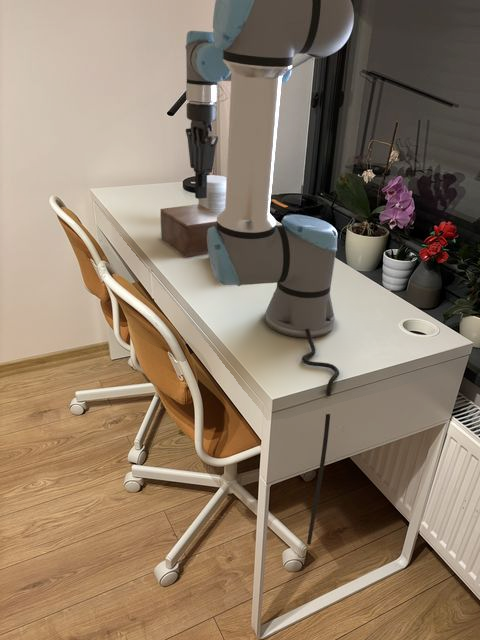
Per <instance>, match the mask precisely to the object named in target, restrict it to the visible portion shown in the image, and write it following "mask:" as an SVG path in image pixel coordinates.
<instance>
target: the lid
mask: <svg viewBox="0 0 480 640" xmlns="http://www.w3.org/2000/svg"><path fill="white" fill-rule="evenodd" d="M161 212H162V213H164V214H165V215H167V216H168V217H170V218H172V219H173V220H175V221H176V222H178V223H180V224H181V225H183V226H184V227H186V228H193V227H200V226H207V225H214V224H217V216H218V214H216V213H214V212H213V211H211V210H209V209H207V208H205V207H203V206H202V205H200V204H199V203H197V204H190V205H189V204H188V205H182V206H174V207H165V208H164V207H163V208H160V213H161Z"/></svg>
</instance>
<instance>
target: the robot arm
mask: <svg viewBox="0 0 480 640" xmlns="http://www.w3.org/2000/svg"><path fill="white" fill-rule="evenodd" d="M354 20H355V13H354V7H353V3H352V0H215V2H214V9H213V17H212V29H213V31H204V30H203V31H202V30H189V31H187V33H186V42H185V57H186V58H185V60H186V62H185V64H186V66H185V67H186V81H185V90H186V91H185V92H186V95H185V96H186V97H185V98H186V102H187V103H186V118H187V119H188V120H190V127H189V128H185V135H186V138H187V147H188V156H189V165H190V168H191V169H193V172H194V176H195V177H194V189H195V190H194V192H195V193H194V198H195V199H197V200H199V199H201V198H207V175H208V174H211V173H213V169H214V162H215V155H216V149H217V144H218V141H219V137H218V136H217V135H215V134H214V133H213V131H214V129H213V122H215V121H216V120H217V117H218V115H217V111H218V105H217V104H216V102H217V101H218V90H219V89H218V83H220V82H230V96H229V115H228V116H229V117H228V119H229V120H228V139H227V159H226V178H227V180H226V201H225V209H224V210H223V211H222V212H221V213H220V214H219V215H218V216H217V226H216V227H211V228H209V229H208V231H207V232H208V233H207V246H208V253H209V254H208V257H209V262H210V267H211V270H212V273H213V276H214V278H215V280H216V281H217V283H218V284H220V285H222V286H238V287H241V286H248V285H262V284H276V287H275V290H274V292H273V294H272V297H271V299H270V301H269V304H268V305H267V308H266V311H265V322H266V324H267V326H269V328H271V329H272V330H274V331H276V332H277V333H279V334H282V335H285V336H289V337H293V338H302V339H307V341H308V344H309V347H310V349H311V351H310V352H308V353H306V354H304V355H303V356H302V358H301V361H302V362H303V363H304V364H306V365H308V366H311V367H319V368H320V367H321V368H328V369H331V370H332V371H333V372H334V374H333V375H332V376H331V377H330V378H329V380H328V381H327V385H326V391H325V395H326V396H327V397H330V396H331V394H332V386H333V384H334V382H335V381H336V380H337V378H338V377H339V375H340V370H339V368H338V367H336V366H335V365H334V364H332V363H328V362H319V361H311V360H309V358H311V357H314V356H315V354H316V351H317V350H316V349H317V348H316V345H315V343H314V341H313V338H318V337H321V336H325V335H326V334H329V333H330V332H331V331H332V330H333V328H334V325H335V313H334V307H333V301H332V298H331V297H332V296H331V288H332V287H331V286H332V281H333V276H334V275H333V274H334V269H335V261H336V254H337V251H338V231H337V229H336V228H335V227H334V226H333V225H332V224H330V223H329V222H327V221H325V220H322V219H320V218H318V217H313V216H308V215H303V214H288V215H285V216H284V217H282V220H281V224H279V225H277V219H276V218H275V217H274V216H273V215H272V213H270V211H271V200H272V199H271V198H272V191H273V190H272V188H273V178H274V166H275V157H276V145H277V136H278V135H277V134H278V125H279V124H278V123H279V114H280V105H281V104H280V102H281V91H282V84H285V83H286V82H288V81H289V79H290V77H291V75H292V70H293V69H295V68H296V67H299V66H300V65H303V64H304V63H306V62H308V61H309V60H311V59H323V58H326V57H329V56H331V55H332V54H335V53H336V52H338V51H339V50H340V49H342V48H343V47H344V45H345V44H346V43H347V41H348V40H349V38H350V36H351V35H352V34H351V33H352V31H353V28H354ZM330 421H331V413H325V421H324V431H323V440H322V447H321V456H320V461H319V462H320V463H319V468H318V474H317V475H318V476H317V481H316V488H315V492H314V493H315V494H314V499H313V505H312V509H311V510H312V511H311V515H310V522H309V528H308V533H307V534H308V535H307V540H306V544H307V545H308V546H311V545H312V539H313V532H314V526H315V521H316V516H317V511H318V505H319V498H320V494H321V493H320V492H321V487H322V481H323V476H324V470H325V463H326V455H327V449H328V441H329V433H330V431H329V430H330V424H331V423H330Z"/></svg>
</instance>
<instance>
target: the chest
mask: <svg viewBox="0 0 480 640" xmlns="http://www.w3.org/2000/svg"><path fill="white" fill-rule="evenodd" d="M216 226H217V224H214V225H207V226H200V227H193V228H186V227H184V226H183V225H181V224H180V223H178V222H176V221H175V220H173V219H172V218H170V217H168V216H167V215H165V214H164V213H162V212H161V211H160V239H161V241H163V242H164V243H165V244H167V245H168V246H169V247H171V248H172V249H173V250H174V251H176V252H177V253H179V254H180V255H181V256H183V257H184V258H193V257H198V256H203V255H209V253H208V246H207V233H208V232H207V231H208V229H209V228H211V227H216Z"/></svg>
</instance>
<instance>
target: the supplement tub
mask: <svg viewBox="0 0 480 640" xmlns="http://www.w3.org/2000/svg"><path fill="white" fill-rule="evenodd" d="M226 180H227V176H223V175H218V174H217V175H216V174H209V175H208V174H207V198H201V199H198V204H200V205H202V206H203V207H205V208H207V209H209V210H211V211H213V212H214V213H216V214H218V215H219V214H220V213H221V212H222V211H223V210H224V209H225V201H226Z"/></svg>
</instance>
